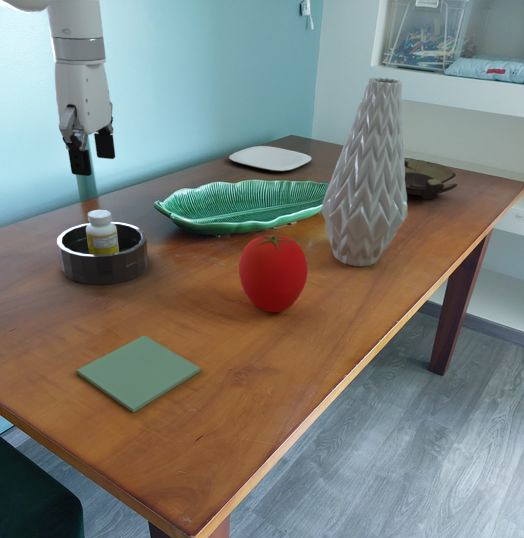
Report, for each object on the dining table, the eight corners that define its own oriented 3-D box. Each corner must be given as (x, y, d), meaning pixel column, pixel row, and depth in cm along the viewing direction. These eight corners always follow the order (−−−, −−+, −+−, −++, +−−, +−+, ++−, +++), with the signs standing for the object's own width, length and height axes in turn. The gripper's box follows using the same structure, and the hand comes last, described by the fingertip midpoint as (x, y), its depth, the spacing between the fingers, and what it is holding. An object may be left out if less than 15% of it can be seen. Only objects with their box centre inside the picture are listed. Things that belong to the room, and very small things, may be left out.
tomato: (316, 312, 91) (326, 241, 83) (267, 331, 85) (272, 258, 77) (274, 285, 98) (279, 218, 90) (226, 302, 92) (227, 231, 84)
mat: (133, 413, 68) (133, 409, 67) (76, 373, 74) (76, 369, 73) (200, 371, 75) (200, 367, 75) (144, 338, 81) (144, 335, 81)
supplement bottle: (117, 269, 98) (112, 219, 93) (88, 269, 98) (80, 219, 92) (122, 256, 103) (116, 208, 97) (93, 256, 102) (86, 207, 97)
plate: (283, 178, 149) (284, 172, 148) (220, 163, 158) (220, 157, 157) (318, 161, 165) (319, 156, 164) (258, 148, 174) (259, 143, 173)
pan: (96, 294, 92) (92, 265, 88) (45, 265, 99) (39, 237, 96) (165, 265, 102) (163, 238, 99) (113, 241, 109) (110, 215, 106)
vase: (399, 281, 102) (441, 92, 83) (312, 270, 103) (334, 83, 85) (395, 245, 115) (431, 77, 96) (319, 236, 117) (339, 69, 98)
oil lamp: (453, 182, 155) (460, 155, 151) (453, 217, 131) (461, 186, 127) (377, 171, 160) (381, 145, 155) (363, 203, 136) (368, 173, 131)
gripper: (80, 43, 88) (94, 150, 97) (25, 55, 74) (48, 179, 83) (124, 46, 87) (134, 154, 97) (77, 59, 73) (94, 184, 83)
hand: (94, 165), depth 90 cm, fingers open, 9 cm apart
